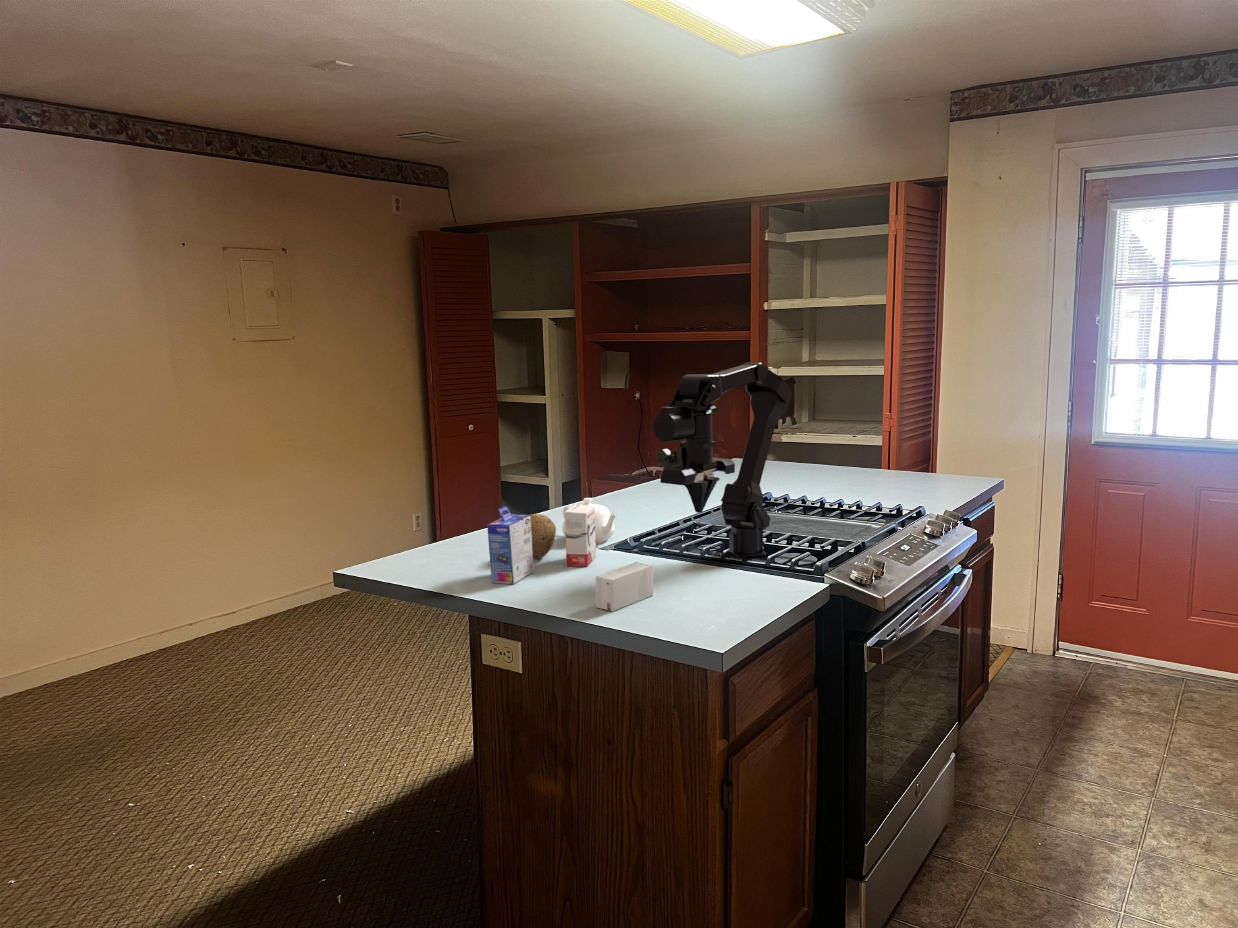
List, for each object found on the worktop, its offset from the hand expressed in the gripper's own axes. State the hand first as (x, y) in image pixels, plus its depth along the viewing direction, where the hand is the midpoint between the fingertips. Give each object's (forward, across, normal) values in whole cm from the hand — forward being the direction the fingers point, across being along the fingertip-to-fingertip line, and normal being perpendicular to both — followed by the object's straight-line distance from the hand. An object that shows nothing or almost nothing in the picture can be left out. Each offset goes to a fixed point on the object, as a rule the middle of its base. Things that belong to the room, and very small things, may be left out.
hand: (698, 512), depth 179 cm
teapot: (+12, -5, -35) cm, 38 cm away
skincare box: (+9, +20, +2) cm, 22 cm away
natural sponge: (+12, +14, -34) cm, 39 cm away
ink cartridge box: (+12, +27, -28) cm, 41 cm away
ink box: (+12, +10, -24) cm, 29 cm away
